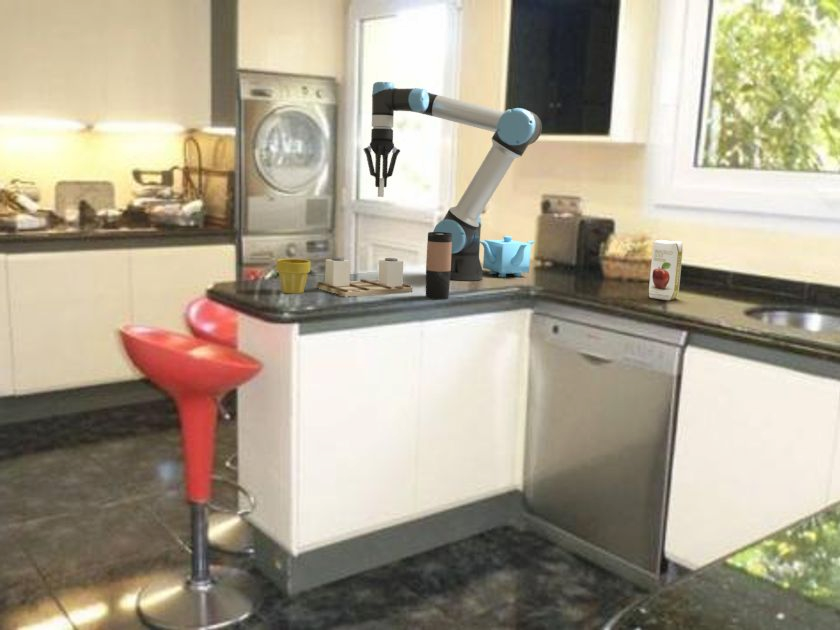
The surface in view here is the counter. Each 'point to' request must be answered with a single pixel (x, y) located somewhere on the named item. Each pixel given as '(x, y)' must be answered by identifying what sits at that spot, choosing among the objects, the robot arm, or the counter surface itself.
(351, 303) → the counter surface
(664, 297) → the juice carton
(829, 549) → the counter surface
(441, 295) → the travel mug
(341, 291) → the wooden tray
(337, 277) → the button
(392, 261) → the button
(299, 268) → the plant pot
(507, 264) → the teakettle
